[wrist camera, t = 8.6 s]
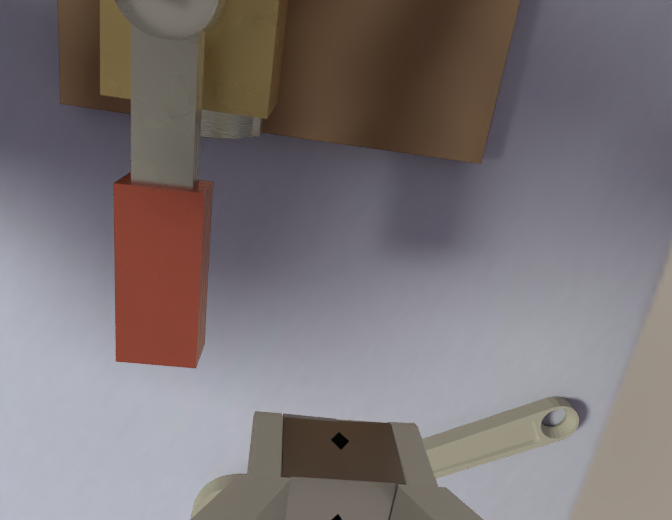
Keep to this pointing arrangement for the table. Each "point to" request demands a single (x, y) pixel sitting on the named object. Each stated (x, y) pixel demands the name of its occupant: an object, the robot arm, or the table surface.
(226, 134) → the pipe manifold
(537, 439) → the adjustable wrench
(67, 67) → the base board
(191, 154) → the valve lever
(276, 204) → the table surface
